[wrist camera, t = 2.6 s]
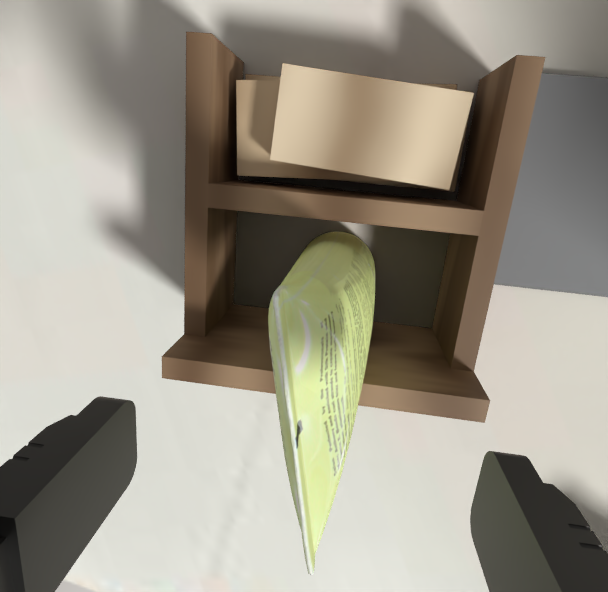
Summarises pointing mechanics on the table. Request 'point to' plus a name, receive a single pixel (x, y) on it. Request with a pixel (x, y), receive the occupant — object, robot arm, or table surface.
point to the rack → (356, 209)
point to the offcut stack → (350, 128)
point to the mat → (561, 192)
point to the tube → (320, 368)
